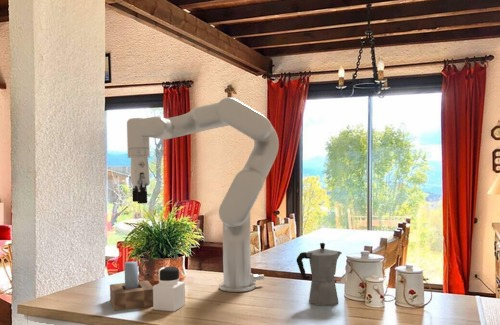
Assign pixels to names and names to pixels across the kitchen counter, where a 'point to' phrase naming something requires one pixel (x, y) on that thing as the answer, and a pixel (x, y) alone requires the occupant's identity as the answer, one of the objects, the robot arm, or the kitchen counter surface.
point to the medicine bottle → (168, 290)
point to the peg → (131, 275)
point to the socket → (131, 296)
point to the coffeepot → (321, 275)
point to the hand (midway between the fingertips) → (139, 202)
